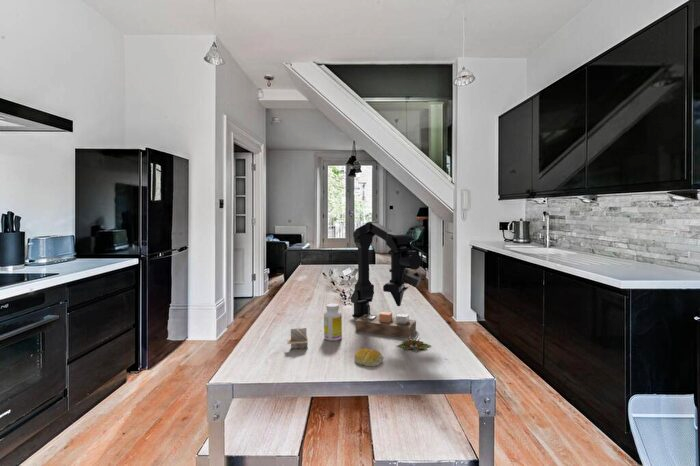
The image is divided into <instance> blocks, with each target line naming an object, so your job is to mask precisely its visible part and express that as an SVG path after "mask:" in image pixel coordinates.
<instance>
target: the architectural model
mask: <svg viewBox="0 0 700 466" xmlns="http://www.w3.org/2000/svg"><path fill="white" fill-rule="evenodd" d="M308 342H309V340H308V334H307V327H302V328H301V327H300V328H298V327H297V328H290V339H287V345H290V349H300V350H303V349H304V348H303V347H306V350H308V349H309V347H308Z"/></svg>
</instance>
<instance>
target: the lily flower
mask: <svg viewBox="0 0 700 466" xmlns="http://www.w3.org/2000/svg"><path fill="white" fill-rule="evenodd" d="M409 335H410V334H409ZM413 336H414V333H413V334H412V335H410V336H409V338H408V340H403V341H402V343H400V344H398V345H397V347H401V348H404V349H403V350H404V351H406V350H411V351H413V352H415V353H419V351H421V349H422V350H426V351H428V348H427V347H432V345H431V344H427V343H424V341H422V340H421V338H418V337H419V334H418V335H417V334H416V335H415V336H414V337H413ZM417 339H418V340H417ZM420 340H421V341H420Z"/></svg>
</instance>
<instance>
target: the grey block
mask: <svg viewBox="0 0 700 466" xmlns="http://www.w3.org/2000/svg"><path fill="white" fill-rule="evenodd" d="M395 318H396V324H402V325H407V324H408V323H409V320H410V314H406V313H398V314H397V315H396V317H395Z"/></svg>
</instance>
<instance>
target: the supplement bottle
mask: <svg viewBox="0 0 700 466" xmlns="http://www.w3.org/2000/svg"><path fill="white" fill-rule="evenodd" d="M325 308H326V311H324V313H323V333H324V334H323V336H324V339H325V340H326V341H330V342H331V341H332V342H336V341H339V340H341V339H342V337H343V333H342V331H343V329H342V328H343V322H342V320H343V319H342V317H343V316H342V311H340V310H339V308H340V305H339V304H338V303H328V304H326V307H325Z"/></svg>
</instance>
